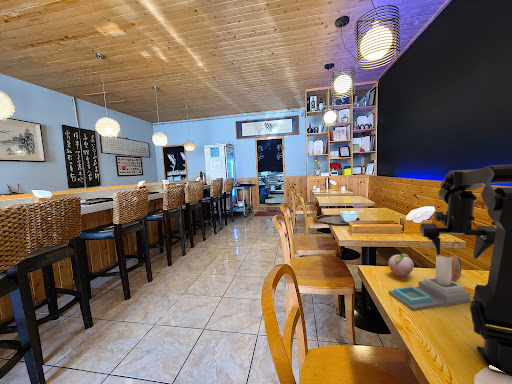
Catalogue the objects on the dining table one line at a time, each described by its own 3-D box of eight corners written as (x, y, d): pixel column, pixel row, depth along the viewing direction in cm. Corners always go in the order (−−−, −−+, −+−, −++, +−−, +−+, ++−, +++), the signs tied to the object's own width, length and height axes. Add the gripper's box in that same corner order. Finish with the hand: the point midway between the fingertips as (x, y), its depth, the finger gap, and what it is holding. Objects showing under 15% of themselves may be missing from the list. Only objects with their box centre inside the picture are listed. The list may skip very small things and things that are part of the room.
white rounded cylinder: (453, 290, 71) (454, 261, 70) (438, 288, 73) (439, 260, 72) (446, 283, 76) (447, 255, 75) (432, 281, 77) (433, 254, 76)
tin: (449, 287, 78) (450, 265, 78) (438, 284, 81) (439, 262, 80) (462, 275, 87) (462, 255, 86) (451, 272, 89) (452, 252, 89)
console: (413, 310, 67) (413, 297, 66) (388, 293, 77) (388, 281, 76) (470, 301, 70) (470, 288, 69) (439, 286, 80) (439, 274, 79)
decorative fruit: (392, 270, 94) (392, 247, 93) (415, 276, 88) (415, 252, 87) (385, 277, 88) (385, 253, 87) (409, 284, 82) (409, 259, 81)
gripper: (487, 203, 70) (482, 247, 73) (416, 202, 78) (414, 242, 81) (508, 214, 60) (501, 265, 63) (425, 212, 68) (422, 257, 71)
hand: (455, 256), depth 70 cm, fingers open, 9 cm apart
